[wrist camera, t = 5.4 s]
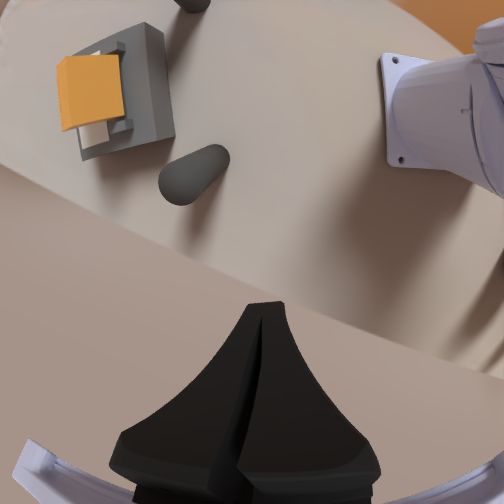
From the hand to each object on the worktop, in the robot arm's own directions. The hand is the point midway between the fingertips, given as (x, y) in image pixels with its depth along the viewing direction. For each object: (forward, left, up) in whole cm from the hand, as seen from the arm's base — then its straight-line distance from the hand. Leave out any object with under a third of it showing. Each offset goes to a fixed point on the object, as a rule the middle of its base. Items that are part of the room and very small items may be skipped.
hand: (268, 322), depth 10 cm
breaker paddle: (+8, -11, -7) cm, 15 cm away
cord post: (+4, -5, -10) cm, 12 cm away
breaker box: (+9, -11, -10) cm, 17 cm away
